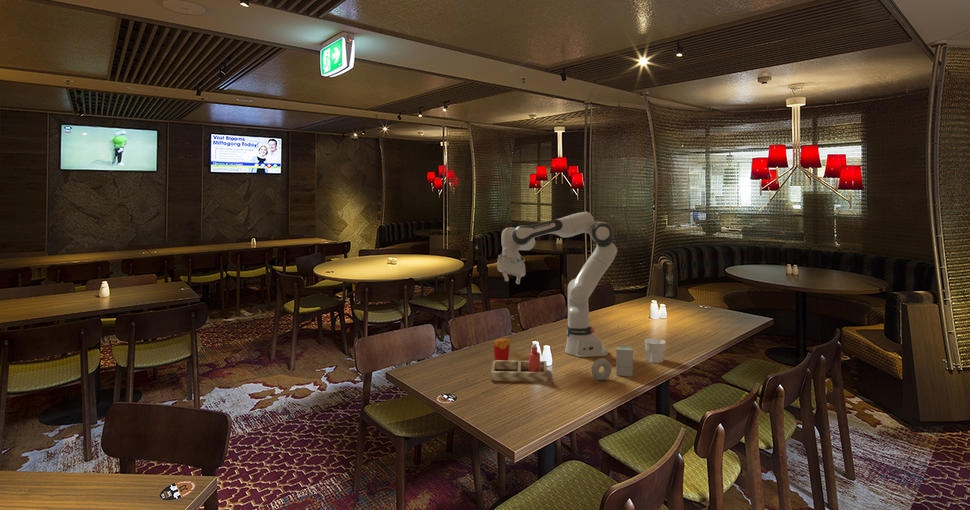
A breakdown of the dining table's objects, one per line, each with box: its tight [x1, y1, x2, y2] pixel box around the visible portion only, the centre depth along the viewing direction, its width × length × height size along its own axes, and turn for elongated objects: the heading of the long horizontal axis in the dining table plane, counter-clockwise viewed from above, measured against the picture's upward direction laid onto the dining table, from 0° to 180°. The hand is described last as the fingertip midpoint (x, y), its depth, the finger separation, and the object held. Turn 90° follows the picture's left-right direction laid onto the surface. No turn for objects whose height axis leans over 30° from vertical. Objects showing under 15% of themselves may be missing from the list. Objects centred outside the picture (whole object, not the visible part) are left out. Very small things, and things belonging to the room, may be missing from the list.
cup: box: [644, 337, 666, 364], centre depth 239 cm, size 10×10×10 cm
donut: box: [590, 358, 612, 381], centre depth 213 cm, size 10×4×10 cm, turn 110°
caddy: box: [490, 359, 549, 383], centre depth 221 cm, size 26×16×4 cm, turn 85°
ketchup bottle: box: [528, 343, 541, 372], centre depth 218 cm, size 5×5×15 cm
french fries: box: [493, 337, 511, 360], centre depth 239 cm, size 8×4×12 cm, turn 110°
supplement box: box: [615, 344, 634, 378], centre depth 221 cm, size 7×7×13 cm
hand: (512, 282), depth 248 cm, fingers open, 8 cm apart
